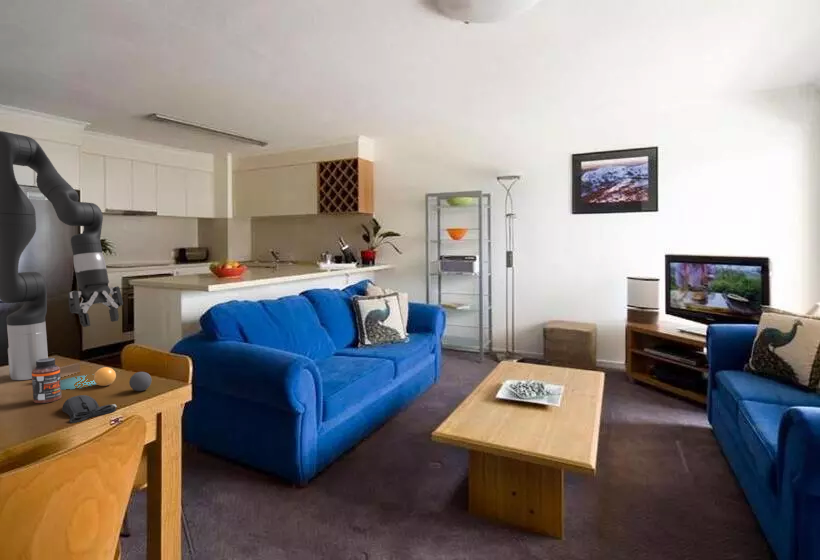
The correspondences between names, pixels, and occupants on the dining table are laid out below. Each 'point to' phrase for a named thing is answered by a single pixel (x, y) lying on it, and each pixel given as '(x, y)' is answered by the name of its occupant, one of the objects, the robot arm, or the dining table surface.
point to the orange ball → (104, 376)
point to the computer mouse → (85, 408)
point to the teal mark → (70, 382)
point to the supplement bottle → (46, 381)
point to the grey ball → (140, 381)
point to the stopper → (69, 369)
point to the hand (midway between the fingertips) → (101, 323)
